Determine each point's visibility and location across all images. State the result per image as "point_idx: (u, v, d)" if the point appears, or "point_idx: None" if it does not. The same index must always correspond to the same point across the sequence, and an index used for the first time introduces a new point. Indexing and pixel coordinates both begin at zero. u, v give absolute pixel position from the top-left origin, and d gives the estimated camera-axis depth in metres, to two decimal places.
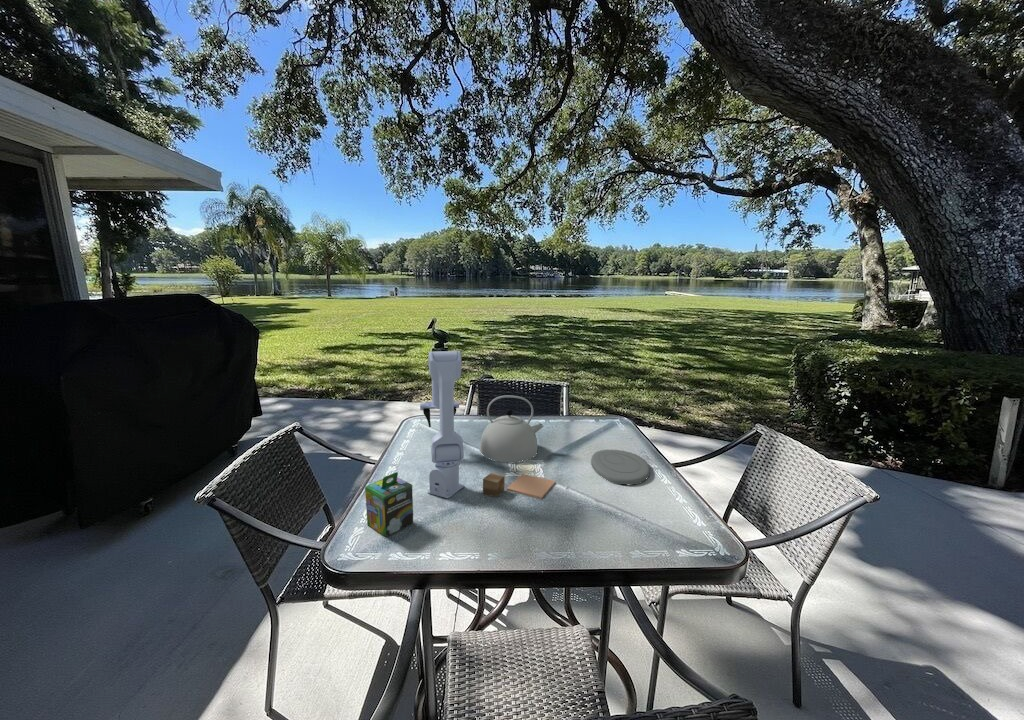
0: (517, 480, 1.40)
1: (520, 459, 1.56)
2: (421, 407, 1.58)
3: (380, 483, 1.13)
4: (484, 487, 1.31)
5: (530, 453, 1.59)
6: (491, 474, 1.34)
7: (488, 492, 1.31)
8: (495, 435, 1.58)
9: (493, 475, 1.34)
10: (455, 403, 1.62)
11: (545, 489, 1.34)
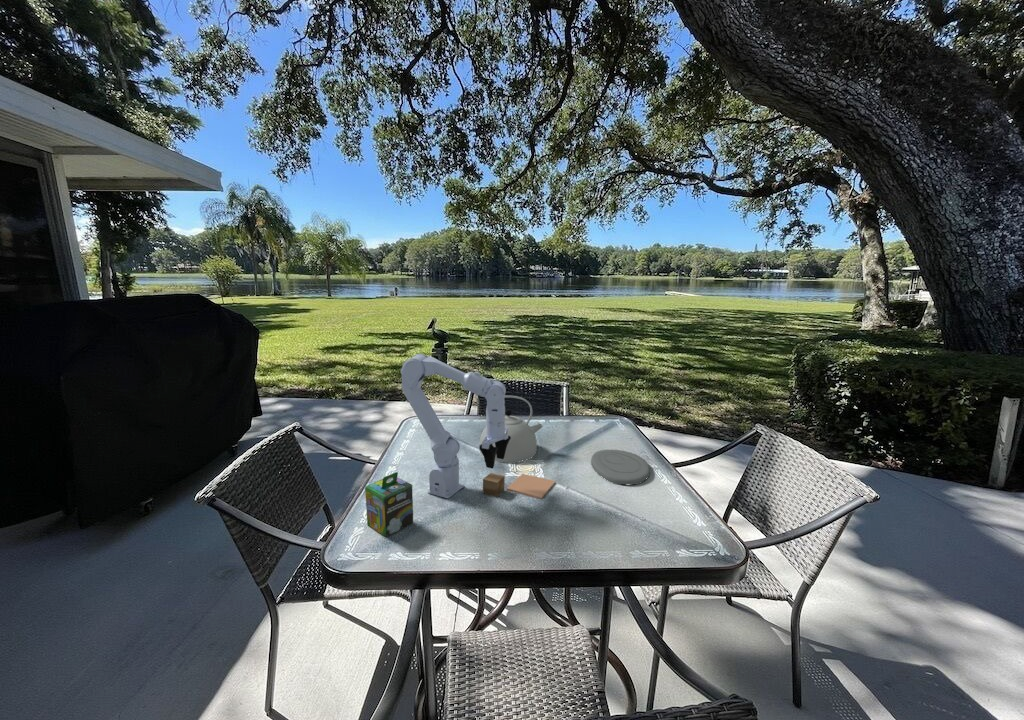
0: (517, 480, 1.40)
1: (519, 459, 1.56)
2: None
3: (380, 483, 1.13)
4: (484, 487, 1.31)
5: (529, 453, 1.59)
6: (491, 474, 1.34)
7: (488, 492, 1.31)
8: None
9: (493, 475, 1.34)
10: (486, 441, 1.25)
11: (545, 489, 1.34)
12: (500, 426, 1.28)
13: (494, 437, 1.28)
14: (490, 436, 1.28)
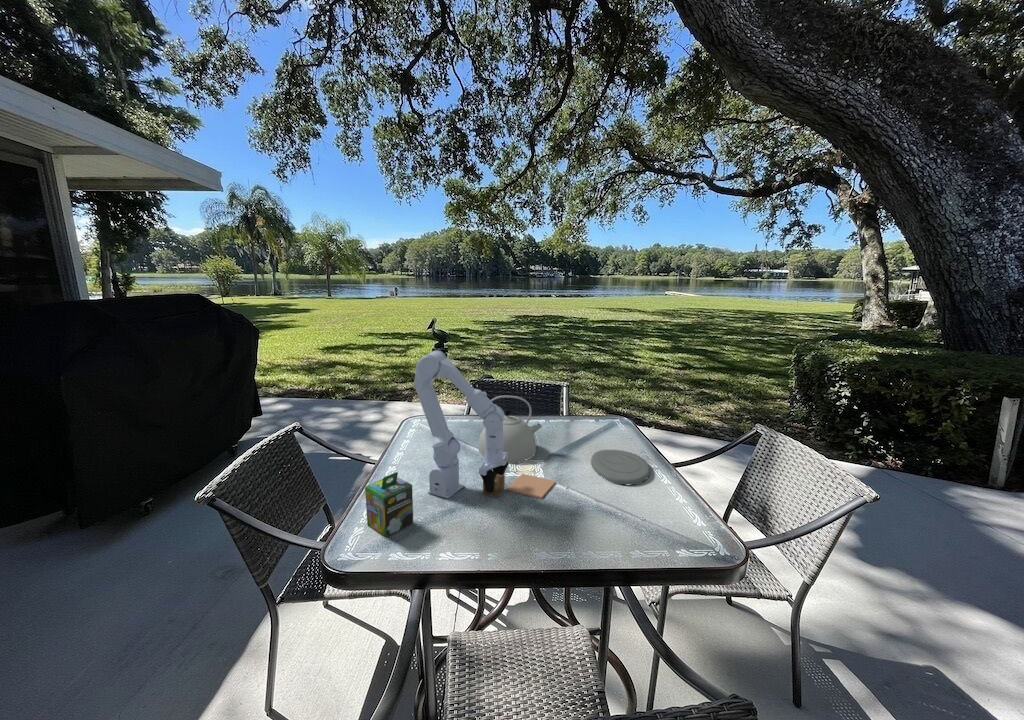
0: (517, 480, 1.40)
1: (518, 459, 1.56)
2: None
3: (380, 483, 1.13)
4: (484, 487, 1.31)
5: (528, 453, 1.59)
6: None
7: (488, 492, 1.31)
8: None
9: None
10: (483, 467, 1.26)
11: (545, 489, 1.34)
12: (498, 453, 1.28)
13: (492, 463, 1.29)
14: (488, 462, 1.29)
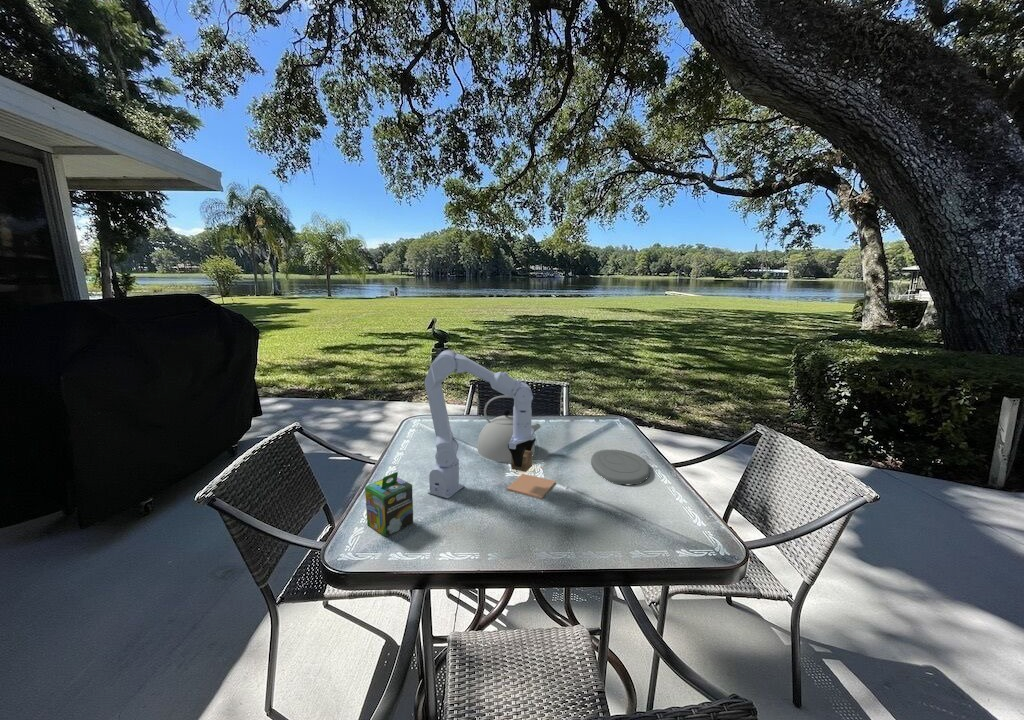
0: (517, 480, 1.40)
1: None
2: None
3: (380, 483, 1.13)
4: (513, 462, 1.33)
5: None
6: None
7: (517, 467, 1.33)
8: (492, 436, 1.57)
9: None
10: (513, 441, 1.28)
11: (545, 489, 1.34)
12: (527, 427, 1.30)
13: (521, 438, 1.30)
14: (517, 437, 1.31)
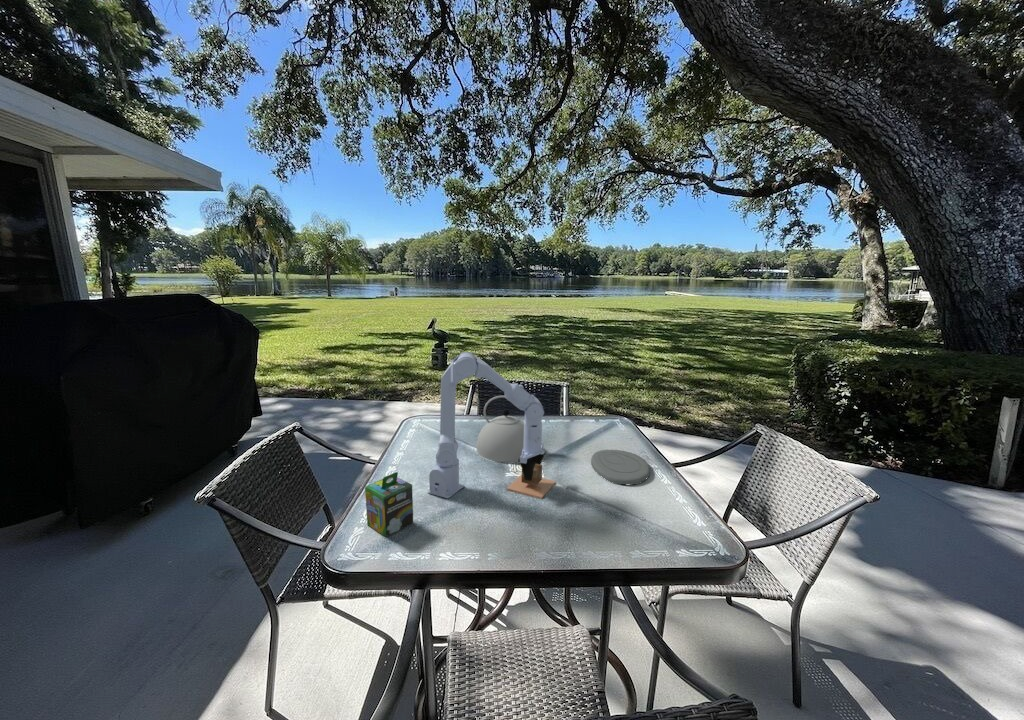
0: (517, 480, 1.40)
1: (516, 459, 1.56)
2: None
3: (380, 483, 1.13)
4: (523, 475, 1.35)
5: None
6: None
7: (527, 480, 1.35)
8: (491, 436, 1.57)
9: None
10: (523, 456, 1.30)
11: (545, 489, 1.34)
12: (537, 442, 1.32)
13: (531, 452, 1.32)
14: (527, 451, 1.33)
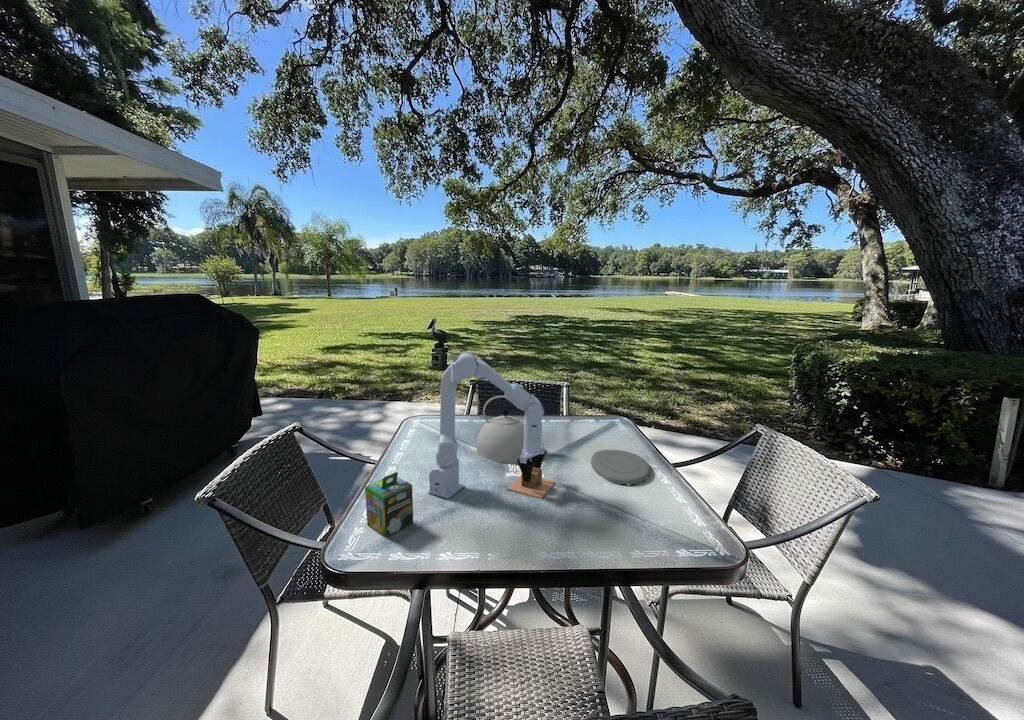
0: (517, 480, 1.40)
1: (515, 459, 1.56)
2: None
3: (380, 483, 1.13)
4: None
5: None
6: None
7: (527, 484, 1.35)
8: (491, 436, 1.57)
9: None
10: (523, 456, 1.30)
11: (545, 489, 1.34)
12: (537, 442, 1.32)
13: (531, 452, 1.32)
14: (527, 451, 1.33)
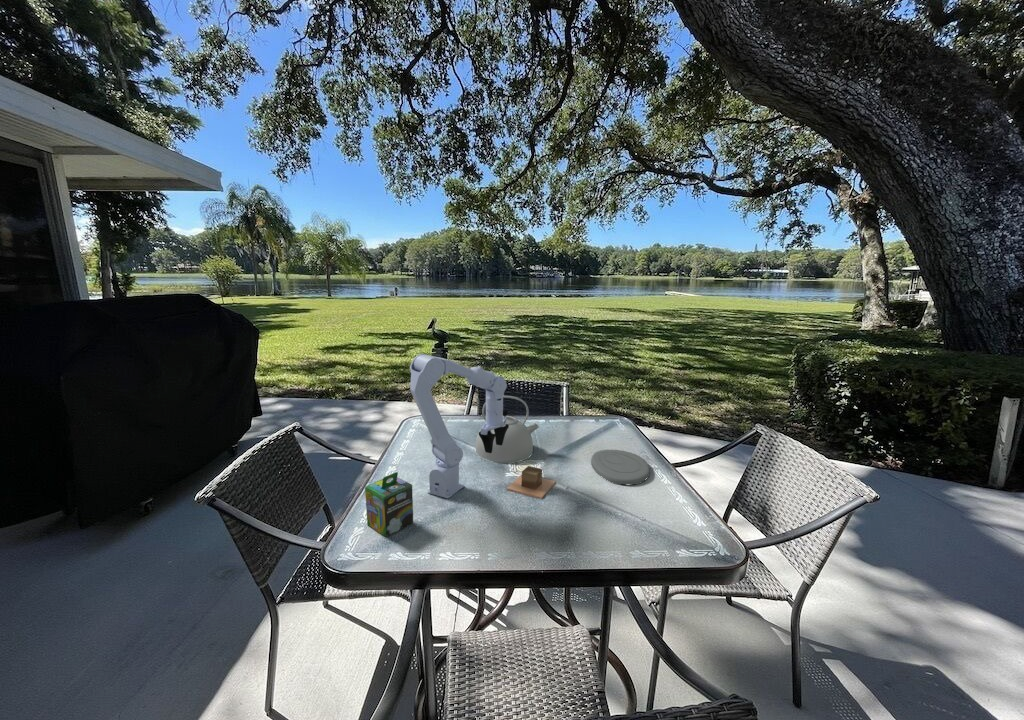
0: (517, 480, 1.40)
1: (514, 460, 1.56)
2: None
3: (380, 483, 1.13)
4: (523, 479, 1.35)
5: (525, 454, 1.58)
6: (529, 467, 1.38)
7: (527, 484, 1.35)
8: None
9: (531, 468, 1.37)
10: (484, 428, 1.37)
11: (545, 489, 1.34)
12: (498, 415, 1.39)
13: (492, 424, 1.39)
14: (489, 423, 1.40)
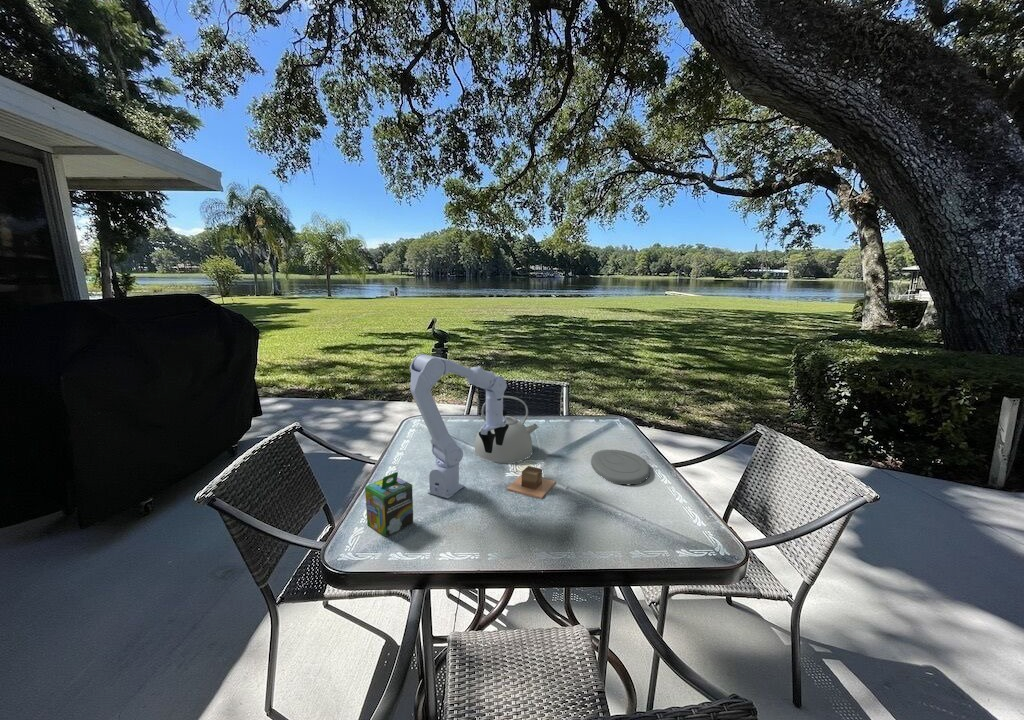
0: (517, 480, 1.40)
1: (514, 460, 1.56)
2: None
3: (380, 483, 1.13)
4: (523, 479, 1.35)
5: (524, 454, 1.58)
6: (529, 467, 1.38)
7: (527, 484, 1.35)
8: None
9: (531, 468, 1.37)
10: (484, 428, 1.37)
11: (545, 489, 1.34)
12: (498, 415, 1.39)
13: (492, 424, 1.39)
14: (489, 423, 1.40)
